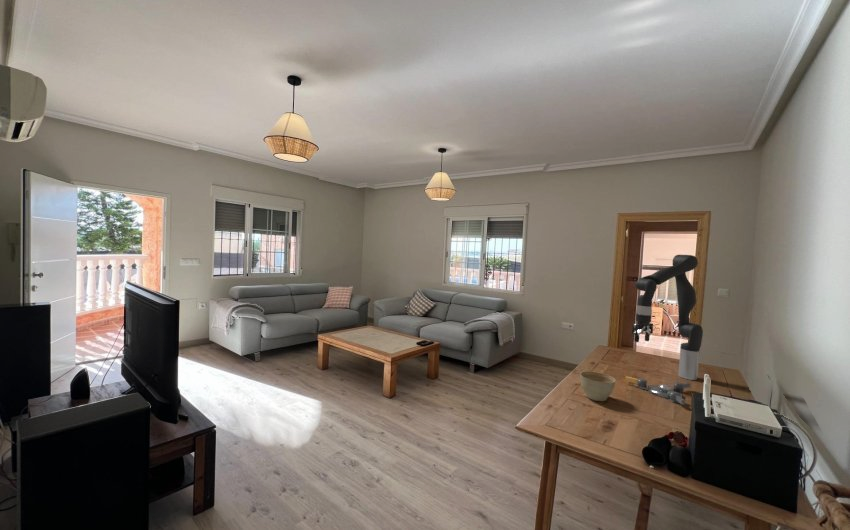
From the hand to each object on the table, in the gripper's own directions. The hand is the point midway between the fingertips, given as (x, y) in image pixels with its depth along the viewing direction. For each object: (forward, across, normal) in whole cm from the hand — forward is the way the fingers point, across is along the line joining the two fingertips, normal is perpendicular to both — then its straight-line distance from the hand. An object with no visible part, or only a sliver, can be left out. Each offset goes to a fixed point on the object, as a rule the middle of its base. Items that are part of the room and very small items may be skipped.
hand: (641, 341), depth 206 cm
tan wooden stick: (+22, +10, +5) cm, 25 cm away
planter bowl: (+24, +45, +10) cm, 52 cm away
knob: (+22, +11, +29) cm, 38 cm away
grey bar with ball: (+22, -10, +18) cm, 30 cm away
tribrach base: (+23, +5, +16) cm, 28 cm away
